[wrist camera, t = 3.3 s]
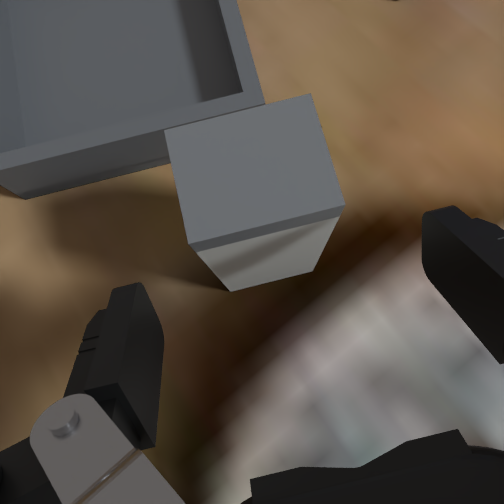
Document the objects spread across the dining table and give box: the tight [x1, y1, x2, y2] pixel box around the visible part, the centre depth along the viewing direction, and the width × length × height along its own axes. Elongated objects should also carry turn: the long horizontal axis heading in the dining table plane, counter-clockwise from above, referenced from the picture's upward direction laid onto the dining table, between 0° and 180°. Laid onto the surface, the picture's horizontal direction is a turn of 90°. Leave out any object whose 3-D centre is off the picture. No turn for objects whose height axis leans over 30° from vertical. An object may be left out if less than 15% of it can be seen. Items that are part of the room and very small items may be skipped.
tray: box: [0, 0, 265, 200], centre depth 27 cm, size 16×18×4 cm
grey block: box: [164, 93, 345, 292], centre depth 19 cm, size 5×4×12 cm
